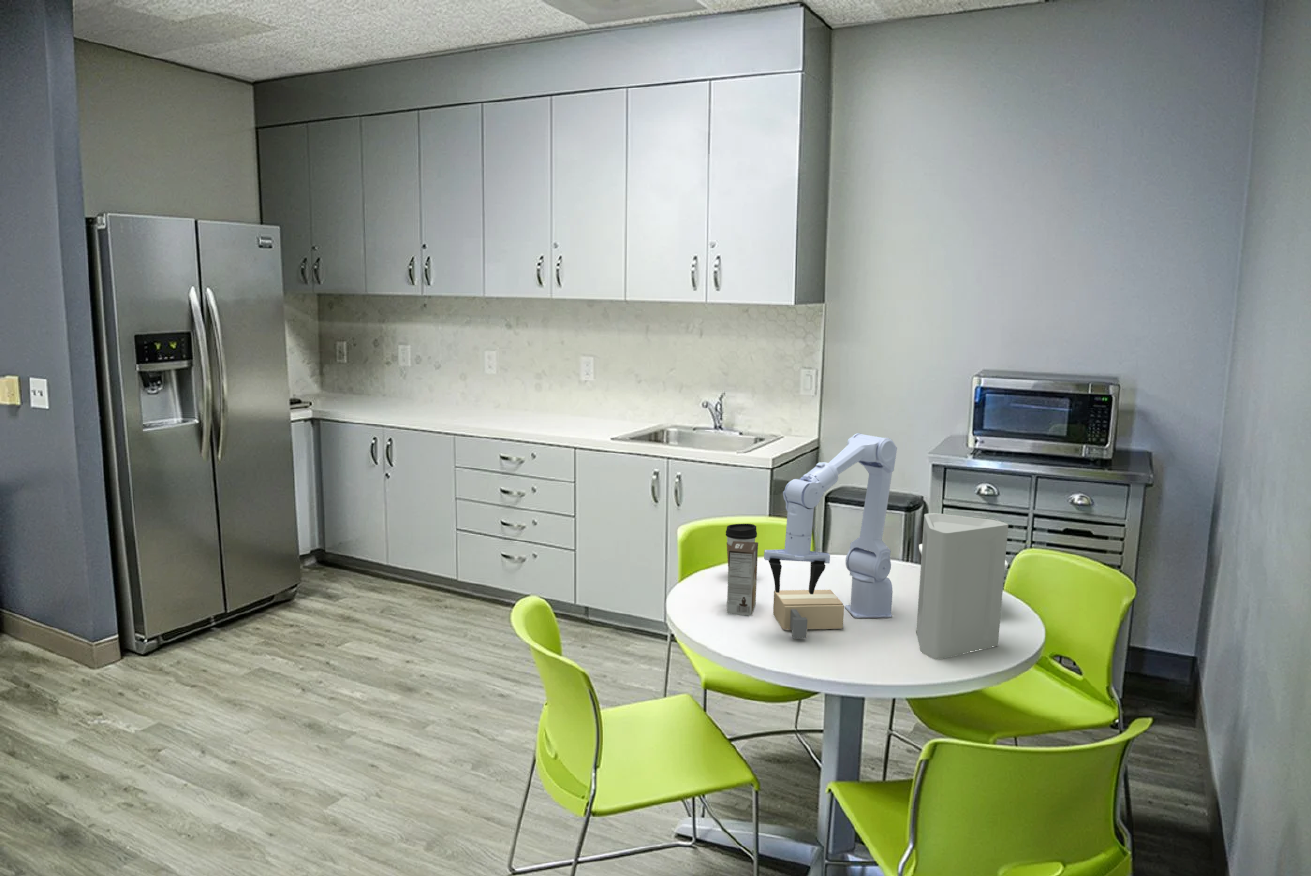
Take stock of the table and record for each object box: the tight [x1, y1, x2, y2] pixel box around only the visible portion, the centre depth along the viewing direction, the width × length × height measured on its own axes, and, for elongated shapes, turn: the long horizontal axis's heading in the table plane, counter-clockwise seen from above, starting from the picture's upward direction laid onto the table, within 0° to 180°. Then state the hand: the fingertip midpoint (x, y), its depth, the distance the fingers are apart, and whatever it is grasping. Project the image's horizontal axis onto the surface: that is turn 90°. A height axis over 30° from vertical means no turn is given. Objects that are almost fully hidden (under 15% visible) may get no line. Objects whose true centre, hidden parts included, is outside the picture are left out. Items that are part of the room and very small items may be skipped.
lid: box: [782, 604, 845, 640], centre depth 211 cm, size 14×7×6 cm, turn 96°
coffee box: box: [726, 541, 759, 617], centre depth 227 cm, size 9×6×16 cm
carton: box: [772, 589, 844, 630], centre depth 220 cm, size 14×10×6 cm
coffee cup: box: [725, 523, 758, 563], centre depth 250 cm, size 8×8×15 cm
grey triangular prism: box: [915, 512, 1009, 660], centre depth 207 cm, size 19×15×28 cm
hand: (794, 592), depth 209 cm, fingers open, 7 cm apart
